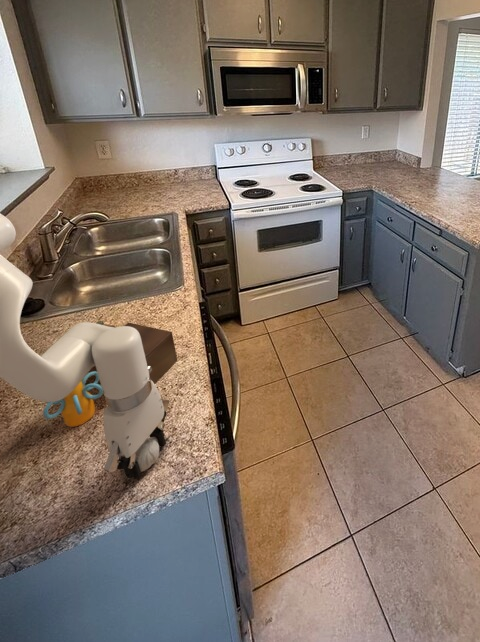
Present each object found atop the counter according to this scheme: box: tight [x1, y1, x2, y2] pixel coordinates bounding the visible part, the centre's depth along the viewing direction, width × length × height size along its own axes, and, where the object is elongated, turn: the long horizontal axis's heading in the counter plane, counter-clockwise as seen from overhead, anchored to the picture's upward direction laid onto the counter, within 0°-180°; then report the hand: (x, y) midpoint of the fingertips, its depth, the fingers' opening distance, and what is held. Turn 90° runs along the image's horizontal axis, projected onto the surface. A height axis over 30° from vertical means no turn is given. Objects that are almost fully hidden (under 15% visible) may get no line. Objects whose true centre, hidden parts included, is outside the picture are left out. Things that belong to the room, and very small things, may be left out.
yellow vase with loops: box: [42, 371, 104, 428], centre depth 80 cm, size 12×10×15 cm
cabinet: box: [92, 322, 178, 385], centre depth 93 cm, size 15×13×10 cm
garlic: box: [135, 437, 160, 473], centre depth 71 cm, size 6×5×5 cm
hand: (146, 458), depth 72 cm, fingers closed on garlic, 6 cm apart
